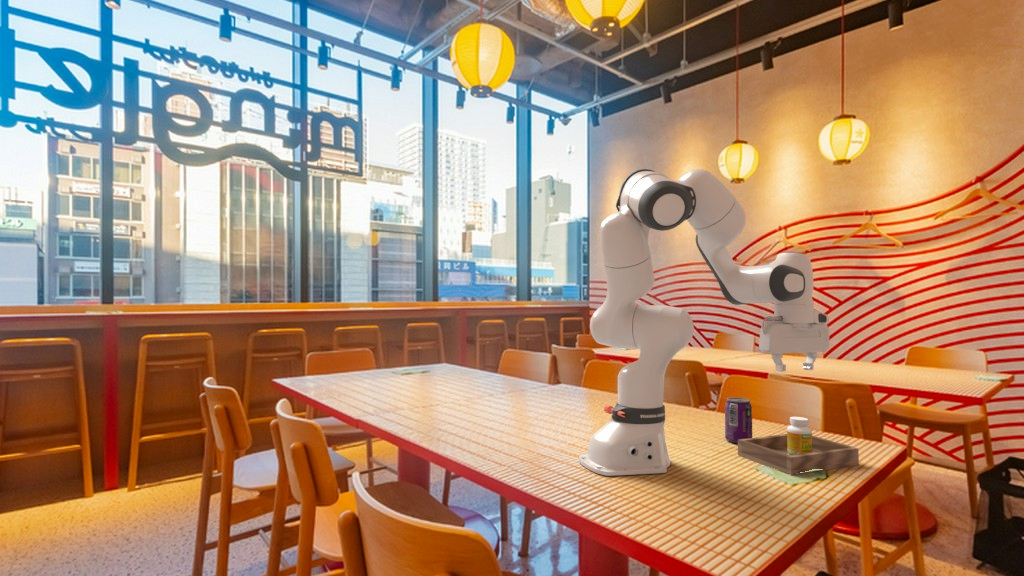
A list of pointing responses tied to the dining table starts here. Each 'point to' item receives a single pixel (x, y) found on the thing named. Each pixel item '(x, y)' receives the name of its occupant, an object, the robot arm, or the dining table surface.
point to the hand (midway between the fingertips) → (794, 370)
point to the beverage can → (738, 419)
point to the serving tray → (776, 455)
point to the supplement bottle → (799, 436)
